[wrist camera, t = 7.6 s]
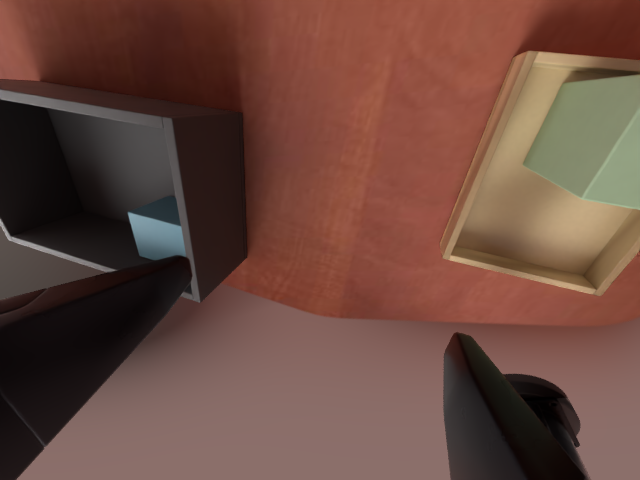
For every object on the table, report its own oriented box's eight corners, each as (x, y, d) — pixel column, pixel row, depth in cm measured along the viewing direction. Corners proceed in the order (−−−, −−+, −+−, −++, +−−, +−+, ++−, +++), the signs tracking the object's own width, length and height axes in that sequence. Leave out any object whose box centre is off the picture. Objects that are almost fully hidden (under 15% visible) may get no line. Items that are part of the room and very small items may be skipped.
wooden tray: (734, 77, 11) (791, 72, 10) (581, 277, 17) (600, 296, 15) (513, 56, 13) (528, 50, 11) (439, 244, 19) (442, 258, 17)
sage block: (661, 93, 12) (848, 88, 7) (604, 179, 14) (717, 224, 9) (562, 82, 13) (663, 71, 8) (521, 165, 15) (580, 199, 10)
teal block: (195, 229, 19) (126, 211, 20) (201, 275, 21) (139, 256, 22) (228, 209, 22) (168, 195, 23) (231, 250, 24) (175, 235, 25)
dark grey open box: (242, 112, 18) (171, 117, 13) (247, 257, 24) (200, 303, 19) (38, 81, 22) (-84, 74, 17) (86, 213, 28) (8, 240, 23)
